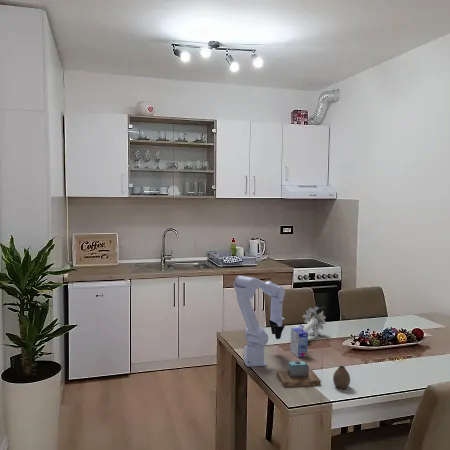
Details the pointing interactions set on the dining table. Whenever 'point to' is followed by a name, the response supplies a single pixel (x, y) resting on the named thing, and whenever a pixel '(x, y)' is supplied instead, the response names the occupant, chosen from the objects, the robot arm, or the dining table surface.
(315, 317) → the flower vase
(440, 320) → the dining table surface
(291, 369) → the gray teal block
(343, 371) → the vase
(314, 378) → the walnut stand
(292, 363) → the cover plate
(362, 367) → the dining table surface
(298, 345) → the ink cartridge box
